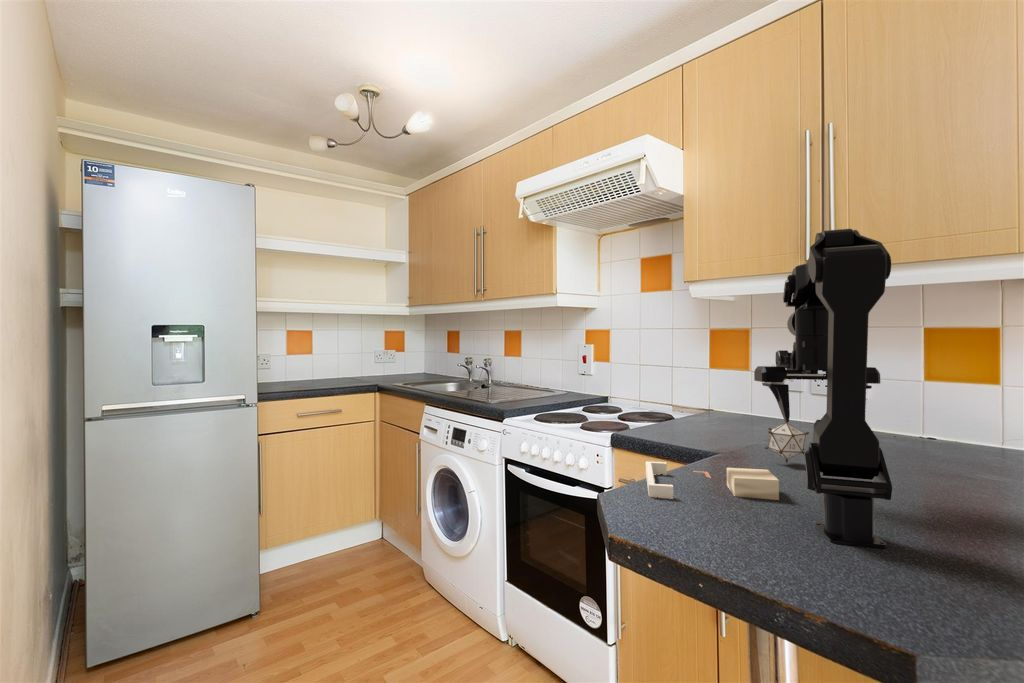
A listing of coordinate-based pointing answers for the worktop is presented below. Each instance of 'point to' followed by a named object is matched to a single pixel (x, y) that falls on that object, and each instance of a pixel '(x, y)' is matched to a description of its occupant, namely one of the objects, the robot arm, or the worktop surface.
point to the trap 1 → (705, 473)
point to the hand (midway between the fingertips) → (814, 422)
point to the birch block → (753, 483)
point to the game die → (786, 440)
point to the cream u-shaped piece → (653, 488)
